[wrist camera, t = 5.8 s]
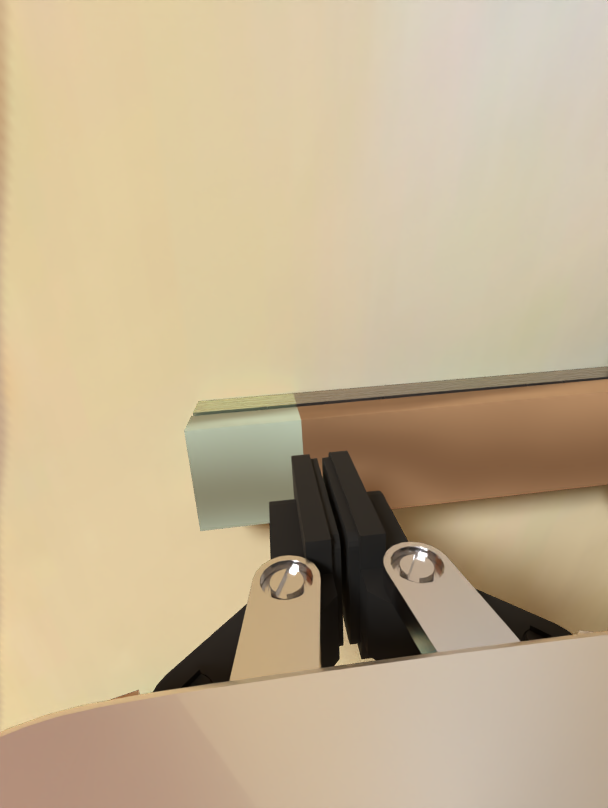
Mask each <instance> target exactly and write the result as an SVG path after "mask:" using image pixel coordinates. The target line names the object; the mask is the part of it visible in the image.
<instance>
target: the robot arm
mask: <svg viewBox="0 0 608 808" xmlns="http://www.w3.org/2000/svg"><path fill="white" fill-rule="evenodd" d="M291 462H292V476H293V490H294V499H291V500H281V501H271V502H269V519H270V552H271V560H269V561H267V562H266V563H264V564H263V565H262V566H261V567H260V568H259V569H258V570H257V571H256V573H255V575H254V577H253V581H252V585H251V589H250V594H249V598H248V602H247V604H246V605H245V606H244V607H243V608H242V609H241V610H239V611H238V612H237V613H236V614H235V615H234V616H233V617H232V618H230V619H229V620H228V621H227V622H226V623H225V624H224V625H222V626H221V627H220V628H219V629H218V630H217V631H216V632H214V633H213V634H212V635H211V636H210V637H209V638H208V639H206V640H205V641H204V642H203V643H202V644H201V645H200V646H199V647H197V648H196V649H195V650H194V651H193V652H192V653H191V654H189V655H188V656H187V657H186V658H185V659H184V660H183V661H181V662H180V663H179V664H178V665H177V666H176V667H175V668H173V669H172V670H171V671H170V672H169V673H168V674H167V675H166V676H165V677H164V678H163V679H162V680H161V681H160V682H159V683H158V685H157V686H156V688H155V689H154V691H153V692H151V693H146V694H141V695H140V693H139V690H137V691H134V692H131V693H128V694H125V695H122V696H119V697H117V698H114V699H111V700H107V701H102V702H97V703H91V704H86V705H81V706H77V707H73V708H70V709H66V710H62V711H59V712H55V713H51V714H47V715H44V716H41V717H39V718H36V719H33V720H30V721H28V722H25V723H22V724H19V725H16V726H14V727H11V728H8V729H6V730H4V731H1V732H0V808H608V631H602V632H590V631H579V632H578V634H576V635H572V634H571V633H570V632H569V631H567V630H566V629H564V628H562V627H560V626H558V625H557V624H555V623H553V622H550V621H548V620H546V619H543V618H541V617H539V616H536V615H534V614H532V613H530V612H527V611H525V610H523V609H520V608H518V607H516V606H514V605H511V604H509V603H507V602H504V601H502V600H500V599H498V598H495V597H493V596H491V595H488V594H486V593H484V592H481V591H479V590H477V589H475V588H474V587H473V586H472V585H471V584H470V583H469V581H468V580H467V579H466V578H465V577H464V576H463V575H462V573H461V572H460V571H459V570H458V569H457V568H456V567H455V565H454V564H453V563H452V562H451V561H450V560H449V558H448V557H447V556H446V555H445V554H443V553H442V552H441V551H440V550H438V549H436V548H434V547H433V546H431V545H427V544H424V543H419V542H408V540H407V538H406V536H405V535H404V533H403V531H402V529H401V527H400V525H399V523H398V521H397V520H396V518H395V516H394V514H393V512H392V510H391V508H390V506H389V505H388V503H387V501H386V499H385V497H384V495H383V493H382V492H381V491H369V492H366V490H365V487H364V485H363V483H362V481H361V479H360V477H359V474H358V472H357V470H356V468H355V466H354V464H353V461H352V459H351V457H350V455H349V453H348V451H337V452H329V454H328V457H324V458H322V471H323V477H322V474H321V470H320V467H319V463H318V460H317V458H314V459H311V458H310V455H309V454H305V455H294V456H291ZM343 618H344V622H345V626H346V631H347V635H348V639H349V643H350V644H357V643H358V647H359V651H360V655H361V659H367V658H373V659H375V660H376V661H370V662H362V663H355V664H348V665H340V666H334V665H335V664H336V663H337V661H338V660H339V659H340V657H339V646H342V645H343Z"/></svg>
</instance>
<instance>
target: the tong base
mask: <svg viewBox="0 0 608 808" xmlns="http://www.w3.org/2000/svg"><path fill="white" fill-rule="evenodd" d="M604 379H608V367H598V368H586V369H574V370H562V371H551V372H539V373H527V374H515V375H503V376H492V377H480V378H468V379H456V380H444V381H433V382H421V383H409V384H397V385H386V386H374V387H362V388H350V389H338V390H327V391H315V392H303V393H291V394H280V395H268V396H256V397H244V398H232V399H221V400H209V401H198V404H197V406H196V408H195V410H194V412H193V416H200V415H212V414H223V413H234V412H245V411H256V410H268V409H279V408H290V407H301V406H312V405H324V404H335V403H346V402H357V401H368V400H380V399H391V398H402V397H413V396H424V395H436V394H447V393H458V392H469V391H480V390H492V389H503V388H514V387H525V386H537V385H548V384H559V383H570V382H581V381H593V380H604Z"/></svg>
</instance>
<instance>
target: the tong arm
mask: <svg viewBox="0 0 608 808" xmlns="http://www.w3.org/2000/svg"><path fill="white" fill-rule="evenodd" d="M184 432H185V438H186V444H187V450H188V457H189V463H190V469H191V475H192V481H193V488H194V494H195V500H196V506H197V513H198V519H199V525H200V531H205V530H214V529H223V528H231V527H240V526H249V525H258V524H266V523H270V519H269V502H271V501H281V500H291V499H294V490H293V476H292V462H291V456H294V455H305V454H309V455H310V458H311V459H314V458H317V460H318V463H319V467H320V470H321V474H322V477H323V471H322V458H324V457H328V454H329V452H337V451H348V453H349V455H350V457H351V459H352V461H353V464H354V466H355V468H356V470H357V472H358V474H359V477H360V479H361V481H362V483H363V485H364V487H365V490H366V492H369V491H381V492H382V493H383V495H384V497H385V499H386V501H387V503H388V505H389V506H390V508H391V509H398V508H406V507H415V506H424V505H433V504H441V503H450V502H459V501H468V500H476V499H485V498H494V497H503V496H511V495H520V494H529V493H538V492H546V491H555V490H564V489H573V488H582V487H590V486H599V485H608V379H604V380H593V381H581V382H570V383H559V384H548V385H537V386H525V387H514V388H503V389H492V390H480V391H469V392H458V393H447V394H436V395H424V396H413V397H402V398H391V399H380V400H368V401H357V402H346V403H335V404H324V405H312V406H301V407H290V408H279V409H268V410H256V411H245V412H234V413H223V414H212V415H200V416H191V418H190V420H189V422H188V424H187V426H186V429H185V431H184Z"/></svg>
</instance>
